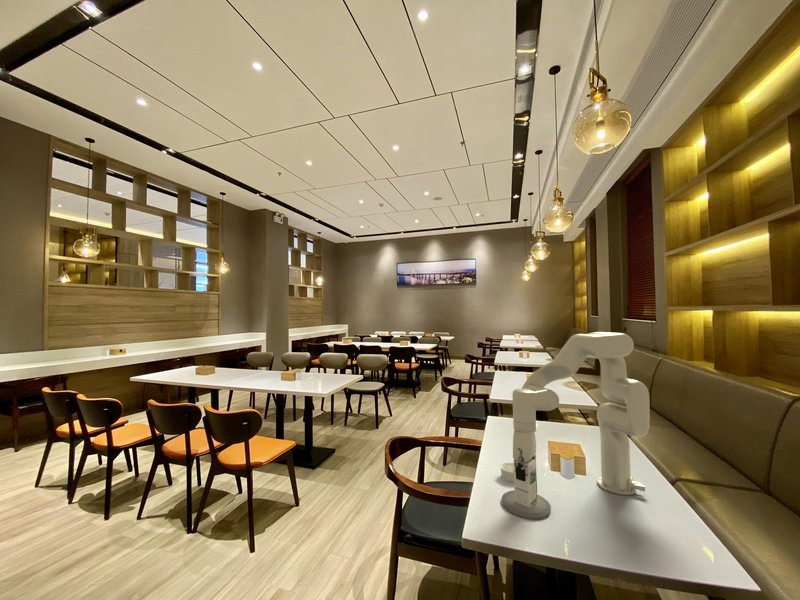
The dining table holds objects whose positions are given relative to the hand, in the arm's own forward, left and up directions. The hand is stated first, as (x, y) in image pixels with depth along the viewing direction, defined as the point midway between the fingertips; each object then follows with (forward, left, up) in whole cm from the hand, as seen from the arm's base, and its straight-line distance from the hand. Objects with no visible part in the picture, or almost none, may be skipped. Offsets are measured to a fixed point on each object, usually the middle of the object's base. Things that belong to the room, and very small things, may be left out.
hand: (526, 474), depth 116 cm
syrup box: (0, 0, -10) cm, 10 cm away
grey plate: (0, 0, -11) cm, 11 cm away
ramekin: (+12, -16, -11) cm, 23 cm away
